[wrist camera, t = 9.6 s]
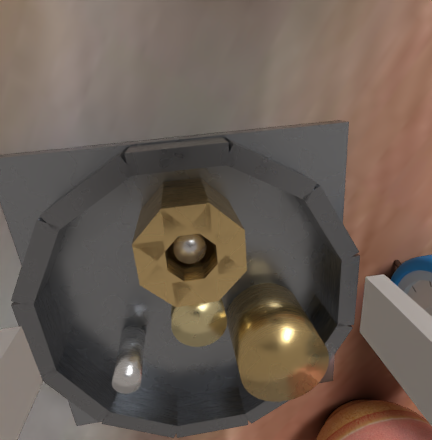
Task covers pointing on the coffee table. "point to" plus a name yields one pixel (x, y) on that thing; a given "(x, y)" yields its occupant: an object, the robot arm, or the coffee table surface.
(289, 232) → the carrier
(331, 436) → the vase
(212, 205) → the octagonal brass tube
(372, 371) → the coffee table surface
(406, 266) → the alarm clock
